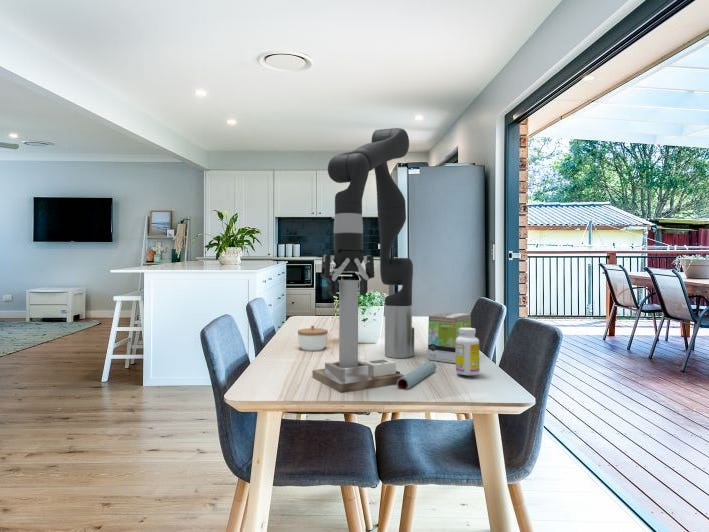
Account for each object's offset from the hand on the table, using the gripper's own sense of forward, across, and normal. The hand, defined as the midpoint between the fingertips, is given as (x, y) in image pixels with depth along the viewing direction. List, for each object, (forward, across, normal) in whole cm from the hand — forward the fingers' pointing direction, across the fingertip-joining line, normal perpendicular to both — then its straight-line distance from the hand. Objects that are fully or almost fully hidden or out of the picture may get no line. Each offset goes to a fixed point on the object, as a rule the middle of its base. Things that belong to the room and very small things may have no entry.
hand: (348, 295), depth 114 cm
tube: (+21, 0, 0) cm, 21 cm away
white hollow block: (+21, +10, 0) cm, 23 cm away
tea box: (+24, +46, +14) cm, 54 cm away
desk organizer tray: (+23, +5, +4) cm, 24 cm away
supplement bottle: (+23, +36, -4) cm, 44 cm away
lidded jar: (+24, +10, +46) cm, 53 cm away
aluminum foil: (+24, +19, -2) cm, 31 cm away
